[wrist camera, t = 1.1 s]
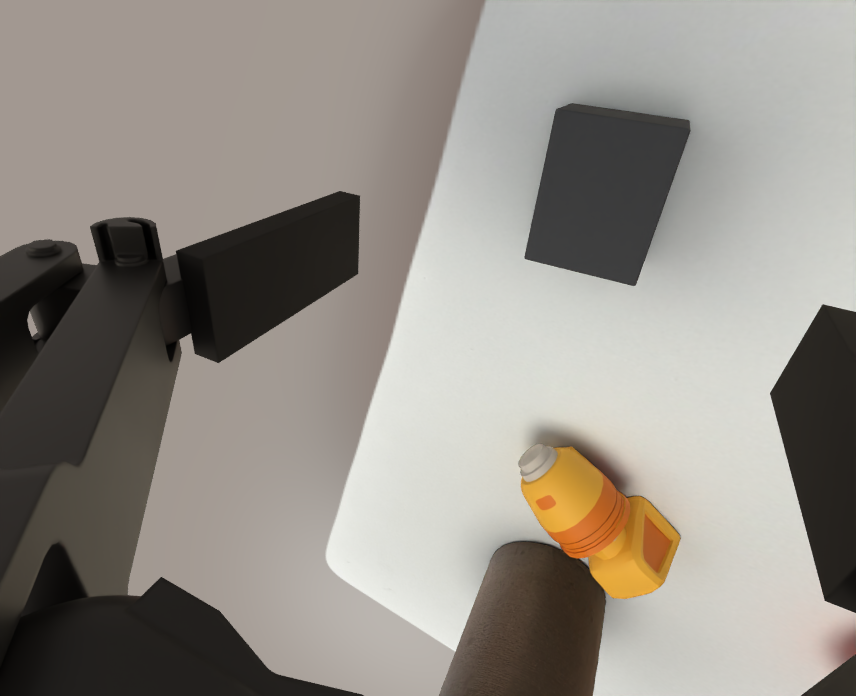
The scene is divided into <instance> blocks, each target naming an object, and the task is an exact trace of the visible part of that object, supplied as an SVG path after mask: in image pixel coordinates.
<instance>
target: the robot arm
mask: <svg viewBox="0 0 856 696" xmlns="http://www.w3.org/2000/svg"><path fill="white" fill-rule="evenodd" d="M359 210H360V196H358V195H354V194H350V193H346V192H341V191H339V192H336V193H333V194H331V195H328V196H325V197H322V198H320V199H317V200H315V201H312V202H309V203H306V204H303V205H301V206H298V207H295V208H292V209H290V210H287V211H284V212H281V213H279V214H276V215H273V216H270V217H268V218H265V219H262V220H259V221H257V222H254V223H251V224H248V225H246V226H243V227H240V228H238V229H235V230H232V231H229V232H227V233H224V234H221V235H218V236H215V237H213V238H210V239H207V240H204V241H202V242H199V243H196V244H193V245H191V246H188V247H185V248H182V249H180V250H177V251H176V255H173V256H170V257H167V258H165V259H163V258H162V253H161V248H160V243H159V238H158V233H157V228H156V223H154V222H153V221H151V220H148V219H143V218H131V217H127V218H114V219H108V220H103V221H100V222H97V223H95V224H93V225H92V226H90V229H91V233H92V236H93V240H94V243H95V247H96V251H97V254H98V258H99V263H98V265H90V264H82V262H81V259H80V256H79V253H78V249H77V246H76V245H75V244H72V243H70V242H64V241H52V240H38V241H33V242H32V243H29V244H26V245H22V246H20V247H17V248H15V249H13V250H11V251H9V252H7V253H6V254H4V255H2V256H0V696H363V695H362V694H357V693H353V692H349V691H344V690H340V689H336V688H332V687H328V686H324V685H319V684H315V683H311V682H307V681H302V680H298V679H294V678H290V677H285V676H281V675H278V674H275V673H274V672H271V670H269V669H268V668H267V667H266V666H265V665H264V664H263V662H262V661H261V660H260V659H259V657H258V656H257V655H256V654H255V653H254V651H253V650H252V649H251V648H250V647H249V645H248V644H247V643H246V642H245V641H244V640H243V638H242V637H241V636H240V635H239V634H238V633H237V631H236V630H235V629H234V628H233V626H232V625H231V624H230V623H229V622H228V620H227V619H226V618H225V617H224V616H223V614H222V613H221V612H220V611H219V610H217V609H215V608H213V607H212V606H210V605H208V604H207V603H205V602H203V601H202V600H199V599H198V598H196V597H195V596H193V595H191V594H190V593H188V592H186V591H185V590H183V589H181V588H179V587H178V586H176V585H174V584H173V583H171V582H169V581H167V580H166V579H164V578H162V577H161V578H160V579H159V580H158V581H157V582H156V583H154V584H153V585H152V586H151V587H150V588H149V589H148V590H147V591H146V592H145V593H144V594H143V595H142V596H129V595H128V583H129V577H130V573H131V568H132V563H133V559H134V555H135V551H136V547H137V542H138V538H139V534H140V530H141V525H142V521H143V517H144V512H145V508H146V504H147V499H148V495H149V491H150V486H151V482H152V478H153V474H154V470H155V465H156V461H157V457H158V452H159V448H160V444H161V440H162V435H163V431H164V427H165V422H166V418H167V414H168V409H169V405H170V401H171V397H172V392H173V388H174V384H175V379H176V375H177V371H178V367H179V362H180V358H181V353H182V352H181V347H180V342H179V339H181V338H183V337H185V336H187V335H188V334H190V333H191V335H192V340H193V346H194V351H195V354H197V355H199V356H202V357H204V358H207V359H210V360H212V361H215V362H217V363H219V362H221V361H222V360H224V359H226V358H227V357H229V356H230V355H232V354H233V353H235V352H236V351H238V350H240V349H241V348H243V347H244V346H246V345H247V344H249V343H251V342H252V341H254V340H255V339H257V338H258V337H260V336H261V335H263V334H264V333H266V332H268V331H269V330H271V329H272V328H274V327H276V326H277V325H279V324H280V323H282V322H283V321H285V320H286V319H288V318H290V317H291V316H293V315H294V314H296V313H298V312H299V311H301V310H302V309H304V308H305V307H307V306H308V305H310V304H312V303H313V302H315V301H316V300H318V299H319V298H321V297H323V296H324V295H326V294H327V293H329V292H330V291H332V290H334V289H335V288H337V287H338V286H340V285H341V284H343V283H344V282H346V281H348V280H349V279H351V278H352V277H354V276H355V275H357V274H358V254H359V213H360V211H359ZM29 311H30V313H31V315H32V318H33V321H34V323H35V326H36V328H37V331H38V333H36V334H35V335H34V336H33V337H32V336H31V334H30V331H29V328H28V322H27V318H28V314H29ZM770 395H771V399H772V403H773V406H774V410H775V414H776V418H777V422H778V425H779V429H780V433H781V437H782V440H783V444H784V448H785V452H786V456H787V459H788V463H789V467H790V471H791V474H792V478H793V482H794V486H795V490H796V493H797V497H798V501H799V505H800V508H801V512H802V516H803V520H804V524H805V527H806V531H807V535H808V539H809V543H810V546H811V550H812V554H813V558H814V561H815V565H816V569H817V573H818V577H819V580H820V584H821V588H822V592H823V595H824V599H825V601H827V602H829V603H832V604H834V605H837V606H839V607H842V608H845V609H847V610H850V611H852V612H855V613H856V312H853V311H849V310H844V309H840V308H836V307H832V306H827V305H822V306H821V308H820V310H819V311H818V313H817V315H816V316H815V318H814V320H813V322H812V323H811V325H810V327H809V328H808V330H807V332H806V333H805V335H804V337H803V338H802V340H801V342H800V344H799V345H798V347H797V349H796V350H795V352H794V354H793V355H792V357H791V359H790V360H789V362H788V364H787V366H786V367H785V369H784V371H783V372H782V374H781V376H780V377H779V379H778V381H777V382H776V384H775V386H774V388H773V389H772V391H771V393H770ZM801 696H856V655H854V656H853V657H852V658H850V659H849V660H848V661H846V662H845V663H844V664H842V665H841V666H840V667H838V668H837V669H836V670H834V671H833V672H832V673H830V674H829V675H828V676H826V677H825V678H824V679H822V680H821V681H820V682H818V683H817V684H816V685H814V686H813V687H812V688H810V689H809V690H808V691H806V692H805V693H804V694H802V695H801Z"/></svg>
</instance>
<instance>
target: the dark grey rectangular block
mask: <svg viewBox="0 0 856 696" xmlns="http://www.w3.org/2000/svg"><path fill="white" fill-rule="evenodd" d="M689 134H690V121H689V120H683V119H677V118H670V117H663V116H656V115H649V114H642V113H635V112H629V111H622V110H615V109H608V108H601V107H594V106H587V105H580V104H574V103H571V104H568V105H566V106H563V107H561V108H558V109H556V111H555V116H554V121H553V125H552V130H551V135H550V140H549V144H548V149H547V154H546V158H545V163H544V168H543V173H542V177H541V182H540V187H539V191H538V196H537V201H536V205H535V210H534V215H533V220H532V224H531V229H530V234H529V238H528V243H527V248H526V253H525V259H527V260H531V261H535V262H539V263H543V264H547V265H551V266H555V267H559V268H563V269H567V270H571V271H575V272H579V273H583V274H588V275H592V276H596V277H600V278H604V279H608V280H612V281H616V282H620V283H624V284H628V285H632V286H635V285H636V283H637V280H638V278H639V275H640V272H641V269H642V266H643V263H644V261H645V258H646V255H647V252H648V249H649V247H650V244H651V241H652V238H653V235H654V232H655V230H656V227H657V224H658V221H659V218H660V215H661V213H662V210H663V207H664V204H665V201H666V199H667V196H668V193H669V190H670V187H671V184H672V182H673V179H674V176H675V173H676V170H677V167H678V165H679V162H680V159H681V156H682V153H683V151H684V148H685V145H686V142H687V139H688V136H689Z"/></svg>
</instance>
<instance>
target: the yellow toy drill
mask: <svg viewBox="0 0 856 696" xmlns="http://www.w3.org/2000/svg"><path fill="white" fill-rule="evenodd" d="M518 465H519V467H520V468H521V471H520V473H521V476H522V479H521V489H522V493H523V495H524V497H525V499H526V501H527V502H528V504H529V506H530V507H531V509H532V511H533V513H534V514H535V516H536V518H537V519H538V521H539V523H540V525H541V526H542V527H543V528H544V529H545V530H546V532H547V533H548V534H549V535H550V536H551V537H552V538H553V539H554V540H555V541H556V542H558V543H559V544H560V546H561V548H562V550H563V551H564V552H565V553H566V554H567V555H568V556H569V557H573V558H578V559H579V558H585V557H589V567H590V572H591V574H592V576H593V577H594V579H595V580H596V581H597V582H598V583H599V584H600V585H601V586H602V587H603V589H604V590H605V591H606V592H607V593H608V594H609V595H610V596H611V597H612V598H620V599H627V598H632V597H636V596H641V595H644V594H648V593H651V592H653V591H654V590H656V589H658V588H659V587H660V586H661V585H662V584H663V583H664V582H665V579H666V577H667V574H668V572H669V569H670V566H671V563H672V560H673V558H674V555H675V552H676V550H677V547H678V545H679V542H680V539H681V538H680V536H679V534H678V533H677V532H676V530H675V529H674V528H673V527H672V526H671V525H670V524H669V523H668V522H667V521H666V519H665V518H664V517H663V516H662V515H661V514H660V513H659V512H658V511H657V510H656V509H655V508H654V507H653V506H652V504H651V503H650V502H649V501H647V500H646V499H645V498H643V497H641V496H633V497H629V498H626V497H625V496H624V495H623V494H622V493H621V492H619V491H617V490H616V489H615V487H614V485H613V483H612V482H611V481H610V480H609V479H608V478H607V477H606V476H605V475H604V474H603V473H602V472H601V471H600V470H598V469H597V468H596V467H594V466H593V464H592V463H590V462H589V461H588V460H587V459H586V458H585V457H583V456H582V455H581V454H580V453H579V452H578V451H576V450H575V449H574V448H573V447H572V446H570V447H566V448H564V447H561V448H552V447H550V446H544V445H543V444H541V443H539V444H536V445H534V446H532V447H531V448H530V449H528V450H527V451H526V452H525V453H524V454H523V456H522V457H521V458H520V460H519V463H518Z"/></svg>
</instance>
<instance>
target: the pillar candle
mask: <svg viewBox="0 0 856 696" xmlns="http://www.w3.org/2000/svg"><path fill="white" fill-rule="evenodd" d="M605 598H606V597H605V593H604V589H603V587H602V586H601V585H600V584H599V583H598V582H597V581H596V580H595V579H594V577H593V576H592V574H591V572H590V570H589V569H587V567H586V566H585V565H584V564H583V563H582V562H580V561H579V560H578V559H577V558H573V557H569V556H568V555H567V554H566V553H565V552H564V551H561V550H559V549H556V548H554V547H551V546H546V545H543V544H539V543H533V542H514V543H510V544H506V545H505V546H502V547H501V548H500V549H498V550H497V551H496V552H495V553H494V555H493V556H492V558H491V560H490V563H489V566H488V568H487V571H486V574H485V576H484V579H483V581H482V584H481V587H480V589H479V592H478V595H477V597H476V600H475V602H474V605H473V607H472V610H471V613H470V615H469V618H468V620H467V623H466V626H465V629H464V631H463V634H462V636H461V639H460V642H459V644H458V647H457V650H456V652H455V655H454V658H453V660H452V662H451V665H450V668H449V671H448V673H447V676H446V678H445V681H444V683H443V686H442V688H441V692H440V694H439V696H593V691H594V684H595V676H596V670H597V665H598V657H599V649H600V643H601V637H602V628H603V620H604V613H605V604H606V600H605Z"/></svg>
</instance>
